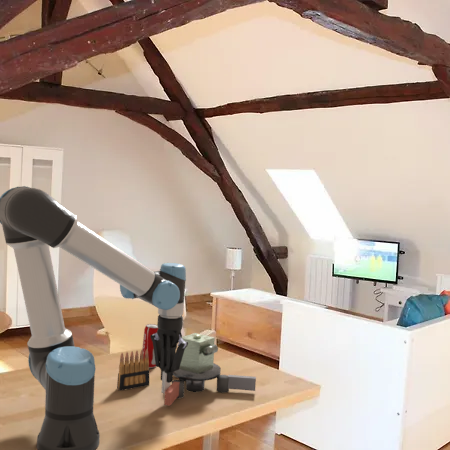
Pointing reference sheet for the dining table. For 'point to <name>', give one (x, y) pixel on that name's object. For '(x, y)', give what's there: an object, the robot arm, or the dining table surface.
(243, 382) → the knob
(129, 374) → the ammunition clip
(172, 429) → the dining table surface
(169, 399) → the red piece
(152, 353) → the beverage can
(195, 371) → the tribrach
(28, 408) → the dining table surface
